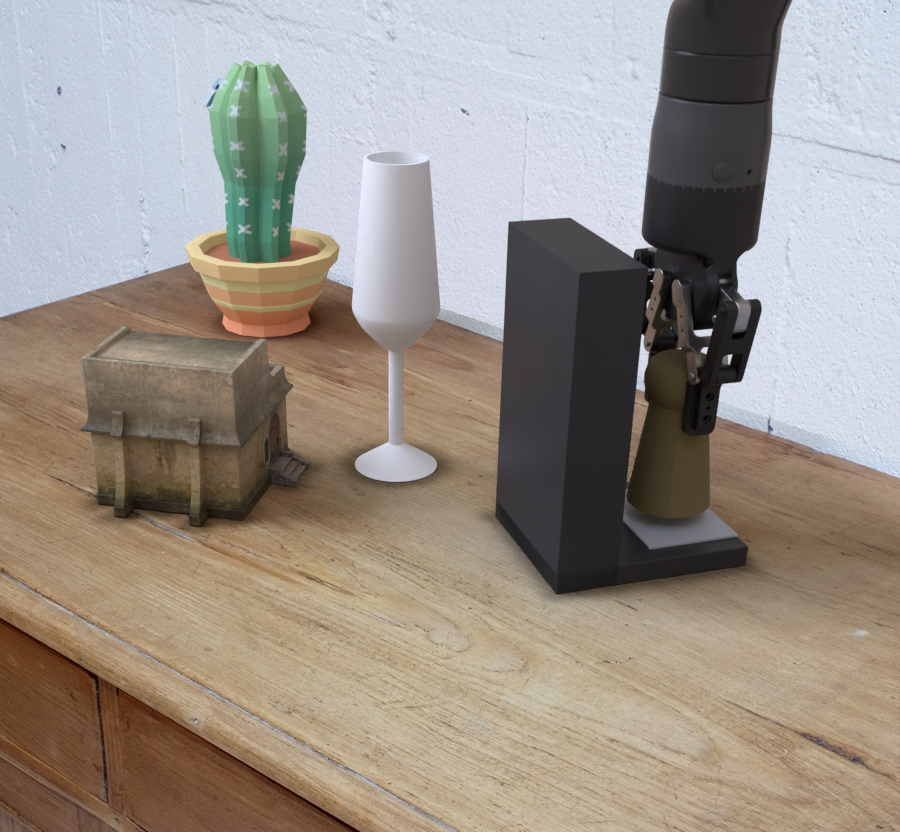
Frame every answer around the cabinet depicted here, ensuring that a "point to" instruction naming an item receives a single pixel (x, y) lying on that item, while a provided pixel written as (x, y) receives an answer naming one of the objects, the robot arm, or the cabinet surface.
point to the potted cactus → (260, 207)
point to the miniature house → (187, 424)
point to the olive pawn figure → (669, 446)
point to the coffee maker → (582, 418)
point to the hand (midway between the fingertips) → (677, 416)
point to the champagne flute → (396, 288)
